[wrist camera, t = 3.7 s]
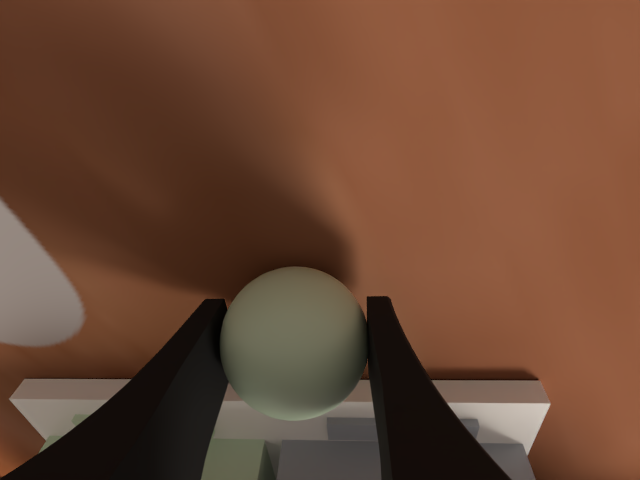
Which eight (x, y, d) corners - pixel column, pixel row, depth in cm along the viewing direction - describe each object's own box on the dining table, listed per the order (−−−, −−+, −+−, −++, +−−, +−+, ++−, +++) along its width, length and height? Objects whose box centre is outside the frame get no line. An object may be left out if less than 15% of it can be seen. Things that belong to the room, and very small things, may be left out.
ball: (365, 235, 12) (373, 350, 9) (366, 333, 15) (373, 453, 11) (226, 239, 13) (178, 350, 9) (250, 334, 15) (220, 450, 11)
